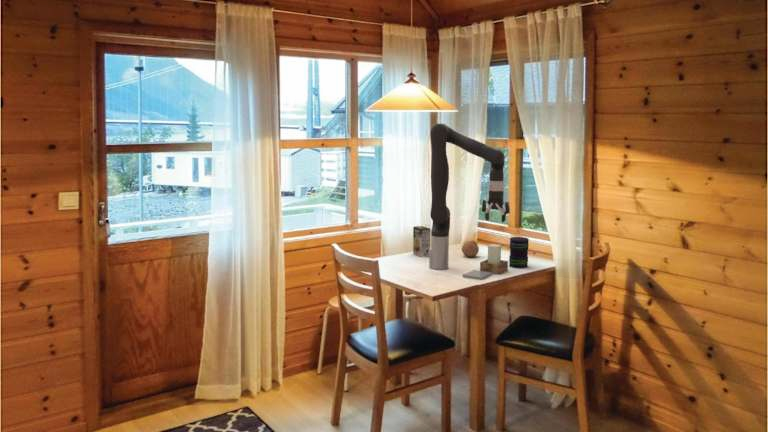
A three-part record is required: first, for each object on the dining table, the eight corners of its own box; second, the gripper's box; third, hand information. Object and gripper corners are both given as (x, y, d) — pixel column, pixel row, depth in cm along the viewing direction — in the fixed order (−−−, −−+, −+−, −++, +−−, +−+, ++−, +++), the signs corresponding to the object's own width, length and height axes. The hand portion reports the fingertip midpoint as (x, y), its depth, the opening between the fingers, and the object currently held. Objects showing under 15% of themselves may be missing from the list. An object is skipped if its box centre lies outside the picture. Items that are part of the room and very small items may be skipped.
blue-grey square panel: (462, 277, 328) (462, 274, 328) (474, 272, 339) (474, 269, 338) (481, 279, 323) (481, 277, 323) (491, 274, 333) (492, 272, 333)
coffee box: (412, 254, 382) (412, 226, 380) (422, 253, 385) (422, 225, 383) (420, 257, 374) (421, 229, 372) (430, 256, 377) (430, 228, 375)
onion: (474, 260, 379) (481, 244, 379) (475, 259, 369) (481, 243, 370) (459, 254, 380) (465, 238, 381) (459, 253, 371) (466, 236, 371)
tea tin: (487, 271, 340) (487, 245, 338) (491, 269, 344) (492, 244, 342) (496, 272, 337) (497, 246, 335) (500, 270, 342) (501, 245, 339)
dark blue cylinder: (531, 266, 352) (532, 238, 350) (520, 269, 345) (521, 241, 343) (516, 263, 359) (517, 236, 357) (505, 265, 353) (506, 238, 351)
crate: (480, 271, 339) (480, 262, 339) (488, 267, 348) (489, 258, 347) (499, 274, 334) (499, 264, 333) (507, 270, 342) (507, 261, 341)
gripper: (480, 189, 335) (479, 220, 338) (506, 191, 327) (505, 223, 330) (486, 188, 341) (485, 219, 344) (512, 189, 333) (511, 221, 336)
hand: (495, 221), depth 337 cm, fingers open, 8 cm apart
